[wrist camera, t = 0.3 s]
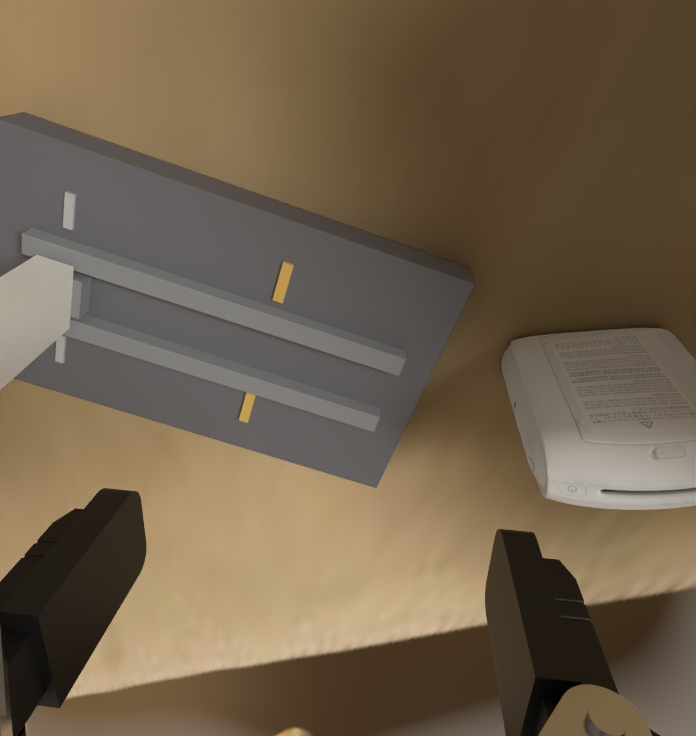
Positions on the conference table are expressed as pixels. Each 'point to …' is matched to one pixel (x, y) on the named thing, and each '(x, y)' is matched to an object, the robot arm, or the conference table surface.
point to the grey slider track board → (225, 303)
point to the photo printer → (607, 416)
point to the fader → (37, 310)
